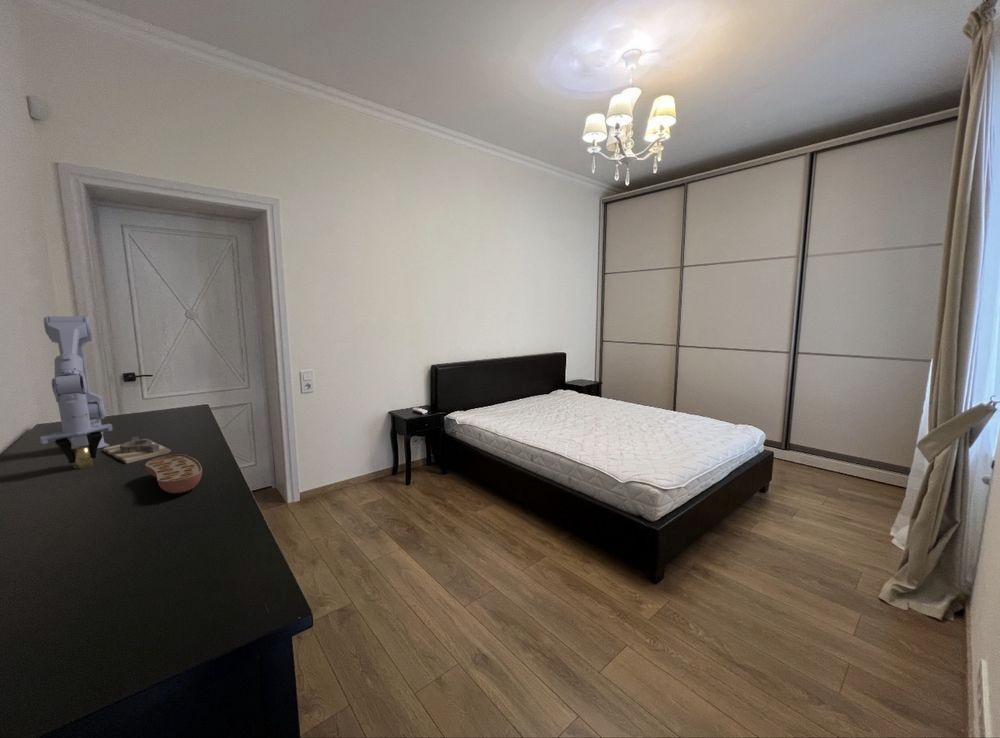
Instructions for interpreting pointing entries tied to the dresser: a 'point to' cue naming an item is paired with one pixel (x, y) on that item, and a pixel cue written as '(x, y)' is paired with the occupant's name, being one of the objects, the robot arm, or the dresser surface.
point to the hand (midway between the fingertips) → (82, 460)
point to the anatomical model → (175, 472)
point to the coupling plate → (134, 455)
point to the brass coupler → (82, 456)
